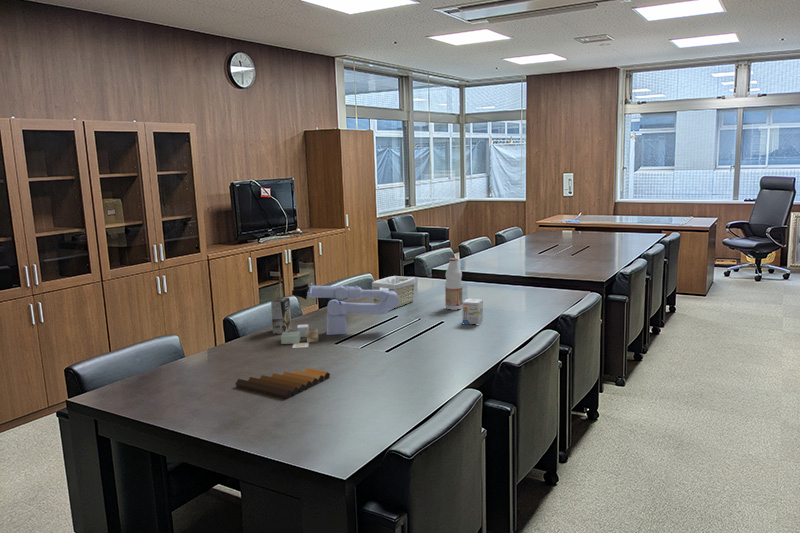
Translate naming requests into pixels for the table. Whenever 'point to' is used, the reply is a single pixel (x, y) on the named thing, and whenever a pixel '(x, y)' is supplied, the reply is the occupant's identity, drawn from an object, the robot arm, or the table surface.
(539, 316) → the table surface
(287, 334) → the base block
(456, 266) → the fruit juice
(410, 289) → the storage basket
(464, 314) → the ink box
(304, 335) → the grey cube
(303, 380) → the pan flute
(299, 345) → the card
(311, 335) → the maple cube
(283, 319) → the coffee box
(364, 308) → the robot arm
